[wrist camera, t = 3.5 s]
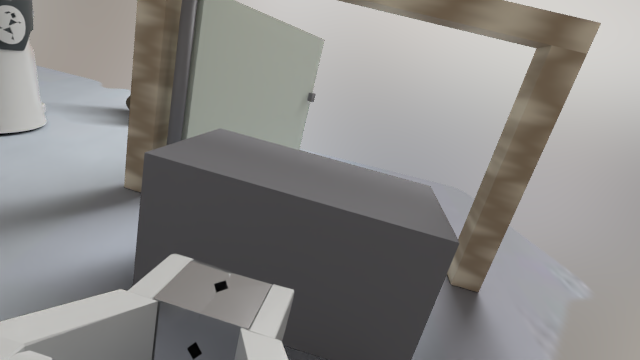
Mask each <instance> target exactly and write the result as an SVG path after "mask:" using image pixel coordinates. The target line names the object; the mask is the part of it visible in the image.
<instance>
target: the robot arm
mask: <svg viewBox="0 0 640 360" xmlns="http://www.w3.org/2000/svg"><path fill="white" fill-rule="evenodd" d="M33 17H34V11H33V9H32V0H0V133H12V132H21V131H27V130H32V129H36V128H39V127H42V126H44V125H45V124H46V123H47V120H46V117H45V114H44V113H45V112H46V108H45V104H44V103H42V102H41V98H40V91H39V83H38V76H37V69H36V62H35V55H34V51H33V48H32V47H31V45H30V42H29V35H30V32H31V31H32V30H33ZM293 298H294V290H293V289H290V288H286V287H282V286H279V285H275V284H274V285H273V284H269V283H266V282H263V281H259V280H256V279H253V278H249V277H246V276H243V275H239V274H236V273H234V272H231V271H228V270H225V269H222V268H219V267H216V266H213V265H210V264H207V263H204V262H201V261H198V260H194V259H192V258H189V257H186V256H182V255H179V254H171V255H169V256H168V257H167V258H166V259H165V260H163V261H162V262H161V263H160V264H159V265H157V266H156V267H155V268H154V269H153V270H152V271H150V272H149V273H148V274H147V275H146V276H144V277H143V278H142V279H141V280H140V281H138V282H137V283H136V284H135V285H134V286H132V287H131V288H130V289H129V290H128V291H126V290H123V289H119V290H115V291H111V292H107V293H104V294H100V295H96V296H93V297H89V298H85V299H82V300H78V301H74V302H70V303H67V304H63V305H59V306H56V307H52V308H48V309H45V310H41V311H37V312H33V313H30V314H26V315H22V316H19V317H15V318H11V319H7V320H4V321H0V360H288V357H287V354H286V352H285V349H284V346H283V343H282V340H283V336H284V333H285V329H286V325H287V321H288V317H289V313H290V309H291V305H292V302H293Z"/></svg>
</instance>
